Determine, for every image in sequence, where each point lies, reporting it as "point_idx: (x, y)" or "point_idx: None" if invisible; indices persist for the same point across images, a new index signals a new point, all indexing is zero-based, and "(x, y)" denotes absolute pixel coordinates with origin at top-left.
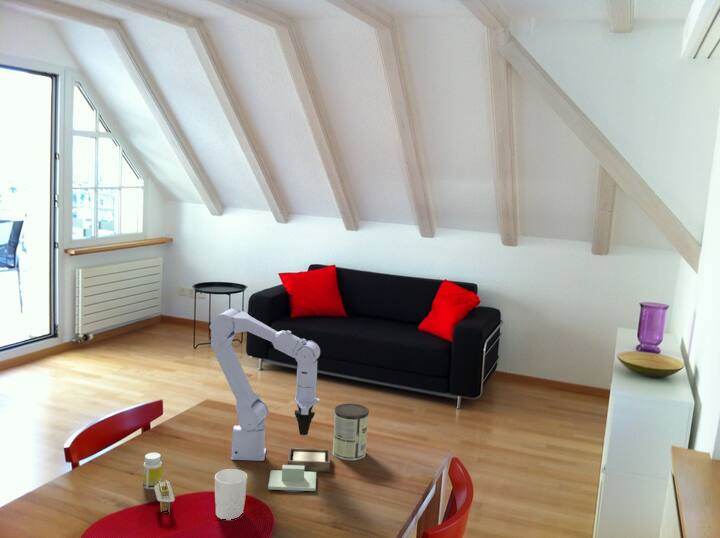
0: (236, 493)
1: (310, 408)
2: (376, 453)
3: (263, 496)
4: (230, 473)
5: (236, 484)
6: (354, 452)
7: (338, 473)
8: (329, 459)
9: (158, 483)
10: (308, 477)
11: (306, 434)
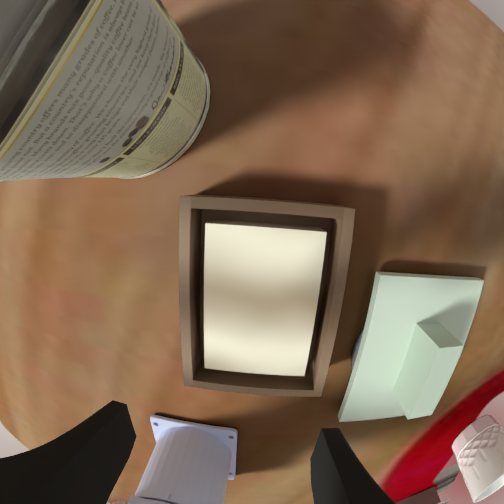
0: None
1: (53, 493)
2: None
3: (445, 403)
4: (476, 489)
5: None
6: (198, 68)
7: (346, 164)
8: (313, 207)
9: None
10: (419, 306)
11: (340, 435)
